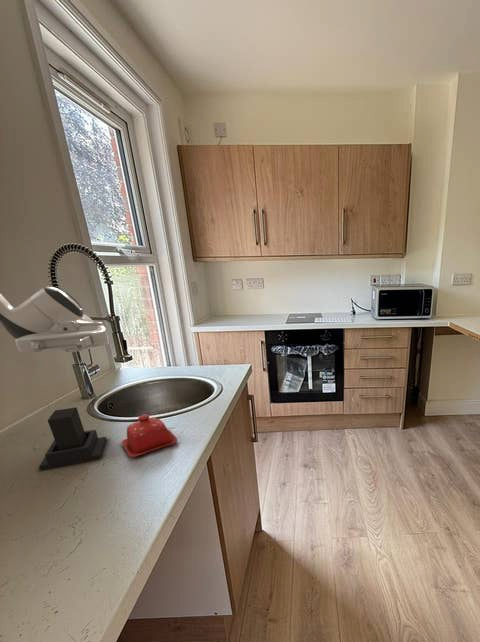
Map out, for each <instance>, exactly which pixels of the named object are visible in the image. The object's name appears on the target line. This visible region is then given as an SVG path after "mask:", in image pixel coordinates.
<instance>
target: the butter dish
mask: <svg viewBox="0 0 480 642" xmlns="http://www.w3.org/2000/svg"><path fill="white" fill-rule="evenodd" d="M177 442H178V438H177V437H176V436H175V435H174V433H172V431H171V430H170V429H169V428H167V426H166V424H165V423H164V422H163V421H162V420H161V419H160V418H156V417H150V415H149V414H141V415H139V416H138V421H136V422H133V423H131V424H129V425H128V426H127V427H126V438H125V439H123V440H121V445H122V446H123V448H124V450H125V451H126V453H127V454H128V456H129V457H130V458H135V457H139V456H142V455H144V454H147V453H150V452H153V451H156V450H159V449H162V448H165V447H168V446H171V445H173V444H176V443H177Z"/></svg>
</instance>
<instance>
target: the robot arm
mask: <svg viewBox="0 0 480 642" xmlns="http://www.w3.org/2000/svg"><path fill="white" fill-rule="evenodd" d="M83 310H84V309H83V307H82V305H81V304H80V303H79V302H78V301H77V300H76V299H75V298H74V297H73V296H72V295H71V294H69V293H68V292H66V291H65V290H63V289H61V288H57V287H53V286H43V288H40V289H39V290H38V291H36V292H35V293H34V294H32V295H30V296H29V297H28V298H27V299H26V300H25V301H23V302H22V303H20V304H19V305H18V306H16V307H13V305H12V304H11V303H10V302H9V301H8V299H6V298H5V296H3V294H2V293H0V323H1V325H2V326H3V327H4V329H5V330H6V331H7V333H9V334H10V335H11V336H12V337H13V338H14V339H15V340H14V341H15V345H16V348H17V350H18V352H19V353H21V354H27V353H28V354H29V353H39V352H47V351H56V350H61V351H64V352H67V353H78V352H81V351H82V350H87V349H89V348H94V347H100V346H106V345H109V344H110V340H109V336H108V332H107V327H105V326H104V323H103V322H102V321H94V320H93V319H92V318H91V317H90V316H88V315H86V314H85V313H84V311H83Z"/></svg>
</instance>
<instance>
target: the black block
mask: <svg viewBox="0 0 480 642" xmlns="http://www.w3.org/2000/svg"><path fill="white" fill-rule="evenodd" d="M47 423H48V426H49V428H50V431H51V434H52V437H53V439H54V440H55V442H56V444H57V447H58V450H59V451H61V450H67V449H72V448H77V447H83V446H84V445H85V443H86V441H87V438H86V435H85V432H84V431H85V429H84V426H83V423H82V420H81V417H80V413H79V410H78V407H77V406H76V407H70V408H69V407H68V408H63V409H56V410H54V411H53V412H52V414H51V415H49V418H48V419H47Z"/></svg>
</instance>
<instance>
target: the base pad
mask: <svg viewBox="0 0 480 642" xmlns="http://www.w3.org/2000/svg"><path fill="white" fill-rule="evenodd" d="M84 432H85V435H86V438H87V441H86V443H85V445H84V446H83V447H77V448H72V449H67V450H61V451H59V450H58V447H57V444H56V442H55V439H54V440H53V441H52V443H51V444H50V446H49V448H48V449H47V451H46V452H45V454H44V458H43V460H42V461H41V463H40V464H39V466H38V467H39V470H40V471H45V470H50V469H56V468H60V467H64V466H71V465H75V464H79V463H80V464H81V463H85V462H89V461H95V460H100V459H101V458H102V455H103V453H104V449H105V448H106V447H105V446H106V444H107V440H108V439H107V437H106V436H102V437H101V436H100V437H98V433H97V430H96V429H91V430H84Z"/></svg>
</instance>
